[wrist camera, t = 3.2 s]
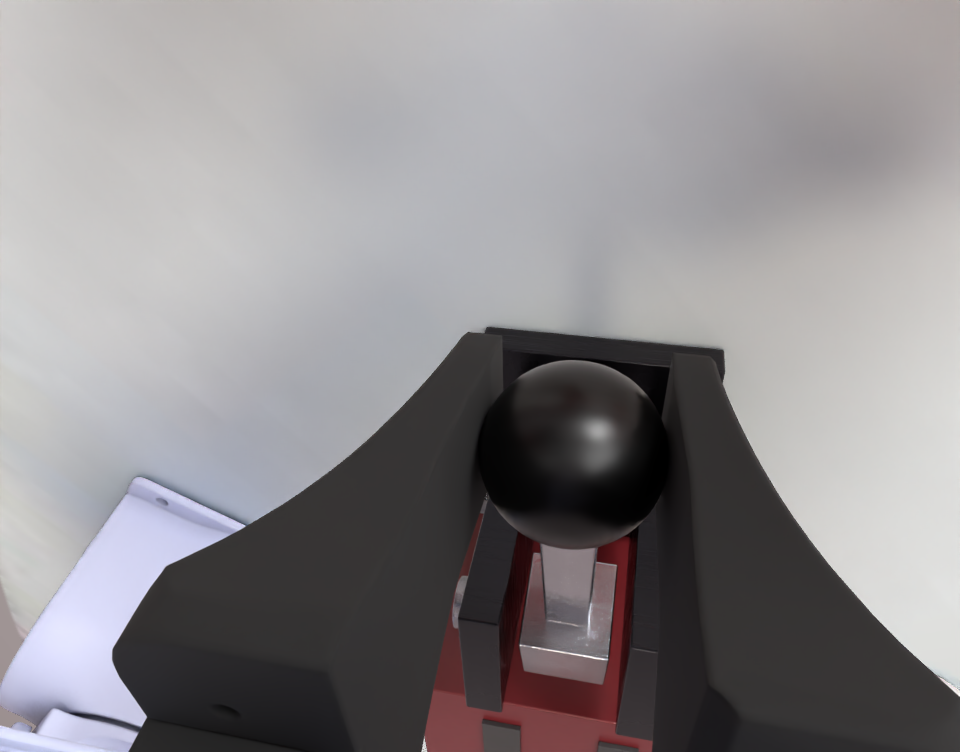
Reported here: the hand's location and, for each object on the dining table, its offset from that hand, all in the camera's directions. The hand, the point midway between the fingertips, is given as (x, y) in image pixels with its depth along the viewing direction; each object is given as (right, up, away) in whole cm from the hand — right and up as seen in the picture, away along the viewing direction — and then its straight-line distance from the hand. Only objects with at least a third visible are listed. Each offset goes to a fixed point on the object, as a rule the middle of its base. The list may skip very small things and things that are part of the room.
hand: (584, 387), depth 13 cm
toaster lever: (0, -2, +4) cm, 4 cm away
